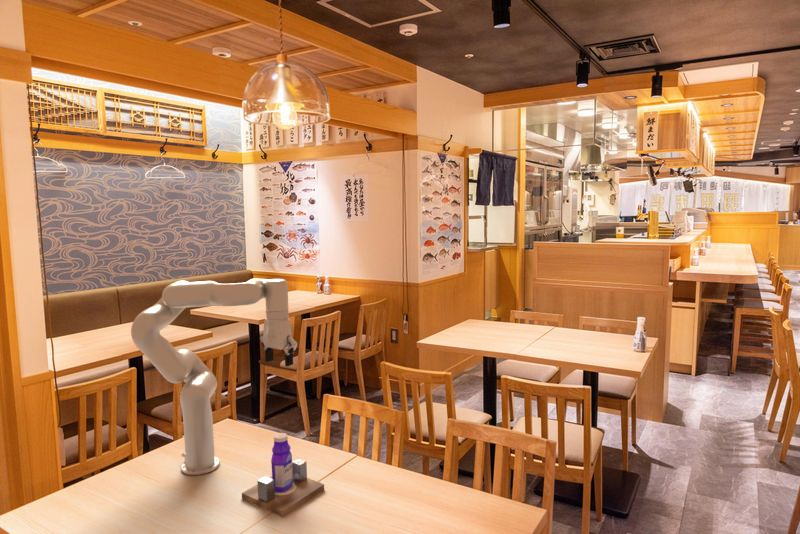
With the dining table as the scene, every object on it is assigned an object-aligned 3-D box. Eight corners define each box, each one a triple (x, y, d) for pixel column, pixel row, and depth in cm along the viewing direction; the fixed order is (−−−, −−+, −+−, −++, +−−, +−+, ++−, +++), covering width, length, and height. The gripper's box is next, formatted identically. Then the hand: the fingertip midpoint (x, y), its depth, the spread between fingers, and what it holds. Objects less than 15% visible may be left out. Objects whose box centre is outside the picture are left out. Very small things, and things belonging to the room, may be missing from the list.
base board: (241, 499, 168) (241, 492, 167) (284, 474, 182) (284, 468, 182) (282, 517, 158) (282, 510, 157) (324, 490, 172) (324, 483, 172)
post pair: (258, 499, 164) (257, 480, 163) (298, 475, 178) (297, 458, 177) (267, 503, 162) (266, 484, 161) (307, 478, 176) (306, 461, 175)
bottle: (286, 495, 166) (284, 441, 164) (269, 493, 167) (267, 439, 165) (295, 483, 173) (294, 431, 171) (279, 481, 174) (277, 429, 172)
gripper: (251, 314, 187) (253, 362, 189) (287, 319, 177) (289, 370, 179) (268, 310, 193) (270, 356, 195) (303, 315, 183) (305, 364, 185)
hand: (279, 363), depth 187 cm, fingers open, 9 cm apart
